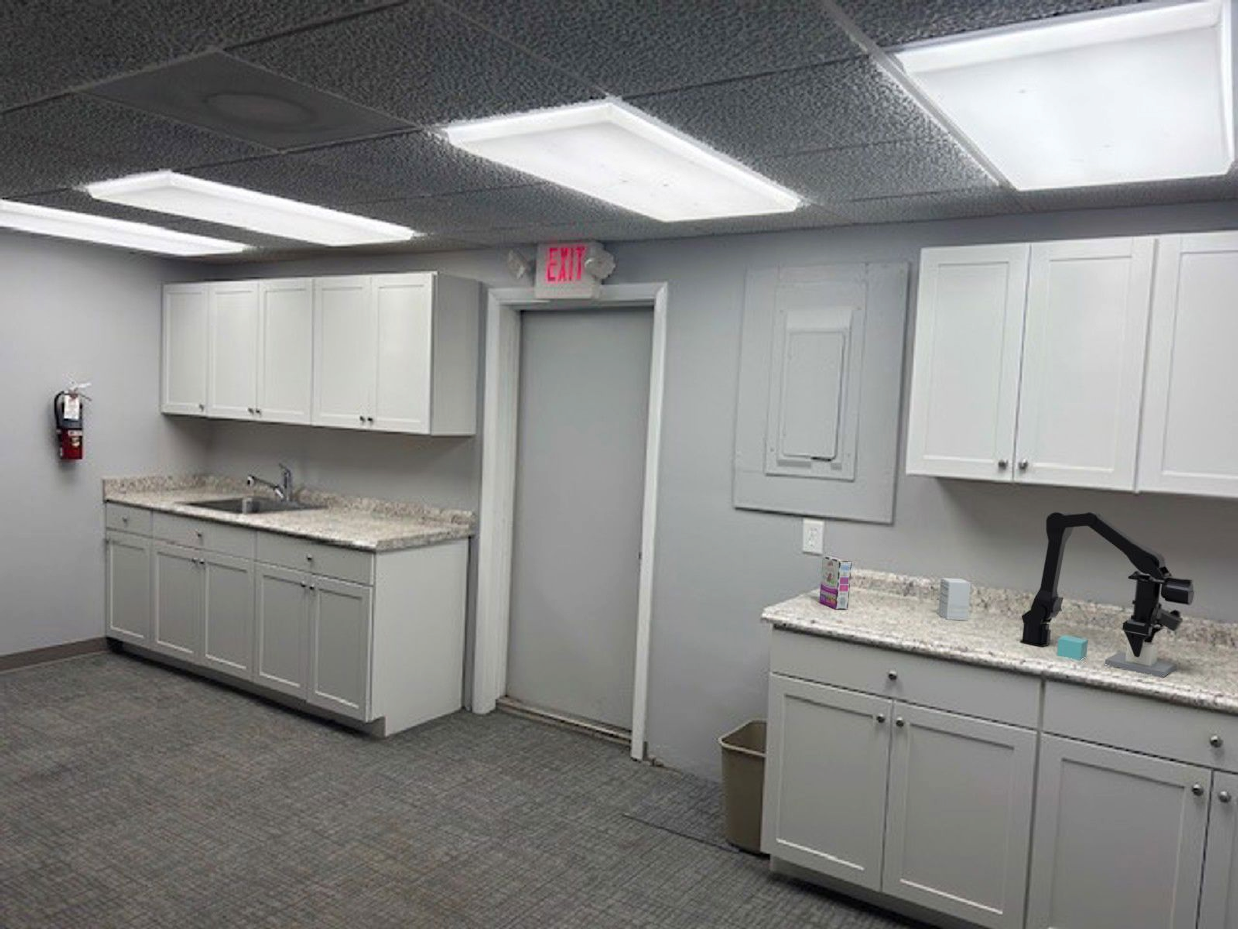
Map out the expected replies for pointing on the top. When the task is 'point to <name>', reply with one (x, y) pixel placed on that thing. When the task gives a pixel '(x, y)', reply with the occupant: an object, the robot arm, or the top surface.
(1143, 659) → the cream brick
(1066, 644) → the teal brick
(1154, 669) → the baseplate
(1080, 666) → the top surface
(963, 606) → the supplement box
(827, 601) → the candy bar box
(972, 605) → the top surface
